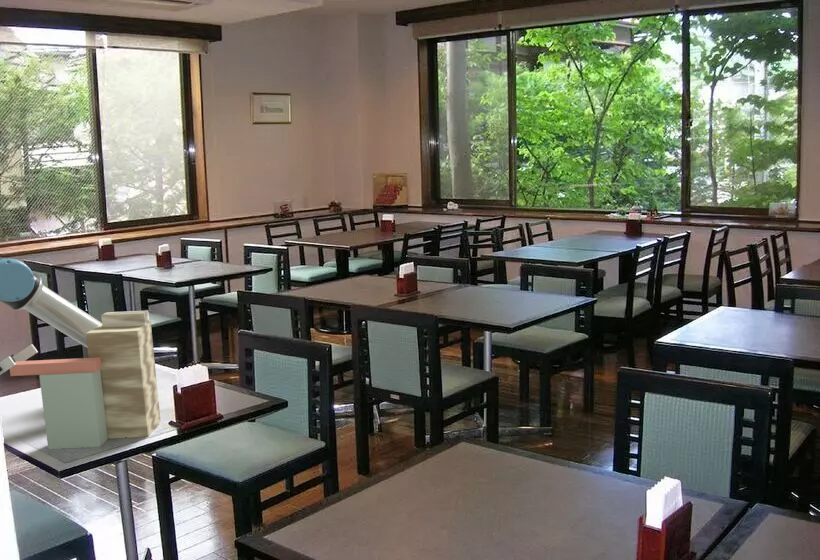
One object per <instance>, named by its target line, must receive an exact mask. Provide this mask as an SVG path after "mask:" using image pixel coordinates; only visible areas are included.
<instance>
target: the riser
mask: <svg viewBox="0 0 820 560" xmlns="http://www.w3.org/2000/svg"><path fill="white" fill-rule="evenodd" d="M38 376H39V384H40V391H41V392H40V393H41V399H42V400H41V401H42V409H43V416H44V417H43V418H44V423H45V424H44V426H45V432H46V434H45V435H46V442H47V443H46V444H47V449H48V450H62V449H61V448H65V449H81V448H82V447H83V448H85V449H86V448H100V447H101V446H103V445H104V444H105V443H106V442H107V441H108V440H109V439H108V435H107V426H106V417H105V408H104V399H103V390H102V381H101V372H100V370H98V371H97V372H86V373H65V374H44V375H38ZM107 439H108V440H107ZM106 440H107V441H106ZM105 441H106V442H105ZM104 442H105V443H104Z"/></svg>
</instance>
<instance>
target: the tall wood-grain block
mask: <svg viewBox="0 0 820 560" xmlns="http://www.w3.org/2000/svg"><path fill="white" fill-rule="evenodd" d="M100 316H101V317H100V318H101V323H102V324H101V325H99V326H98V327H96V328H94V329H93V330H91V331H89V332H87V333H86V339H87V348H88V357H89V358H98V357H101V366H102V368H101V369H100V372H101V381H102V390H103V399H104V408H105V417H106V426H107V435H108V438H110V439H125V437H127V439H128V438H129V439H130V438H148V437H149V436H150V435H151V434H152V433H153V432H154V431H155V430H156V429H157V427H158V426H159V425H160V424H161V423H162V421H161V410H160V401H159V392H158V383H157V380H158V379H157V374H156V373H157V372H156V362H155V353H154V352H155V351H154V342H153V341H154V340H153V333H152V323H151V322H152V321H150V313H149V310H148V309H145V310H130V311H129V310H128V311H112V312H111V311H109V312H104V313H102V314H101V315H100ZM160 422H161V423H160ZM159 423H160V424H159ZM158 424H159V425H158ZM157 425H158V426H157ZM154 429H155V430H154ZM153 430H154V431H153Z"/></svg>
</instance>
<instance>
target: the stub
mask: <svg viewBox="0 0 820 560" xmlns="http://www.w3.org/2000/svg"><path fill="white" fill-rule="evenodd" d="M15 364H16V365H14V366H13V367H11V368H10V371H9V373H10V377H18V376H19V377H20V376H23V377H24V376H40V375H44V374H65V373H86V372H97V371H98V370H100V369H101V368H102V366H101V357H98V358H84V357H80V358H61V359H59V358H58V359H57V358H56V359H42V360H41V359H40V360H25V361H16V362H15Z"/></svg>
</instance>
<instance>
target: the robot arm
mask: <svg viewBox="0 0 820 560" xmlns="http://www.w3.org/2000/svg"><path fill="white" fill-rule="evenodd" d="M0 302H1V303H3V304H5V305H6V306H8V307H9V308H11V309H13V310H15V311H20V310H25V311H27V312H29V313H30V314H31V315H33V316H35V317H36V318H37V319H40V320H42V321H43V322H44V323H46V324H48V325H50V326H51V327H53V328H54V329H56V330H58V331H59V332H60V333H63V334H64V335H65V336H68V337H70V338H71V339H72V340H73V341H75V342H78V344H80V345H81V347H82V353H83V358H89V357H88V348H87V339H86V333H87V332H89V331H91V330H93V329H94V328H96V327H98V326H99V325H101V324H102V321H100V320H98V319H97V318H95V317H93V316H92V315H90V314H89V313H87V312H86V311H84V310H82V309H81V308H79V307H78V306H76V305H75V304H73V303H71V302H70V301H69V300H67V299H66V298H64V297H62V296H61V295H60V294H58V293H57V292H55V291H53V290H52V289H50V288H48V287H47V286H45V285H44V284H43V281H42V277H41V276H40V275H38V274H37V273H35V272H33V271H32V270H31V268H30V266H28V265H27V264H26V263H25V262H23V261H21V260H18V259H16V258H12V257H1V256H0ZM38 353H39V351H38V350H37V348H36V346H34V344H33V343H32V344H30V345H28V346H27V347H26V348H25V347H24V348H23V349H22V350H21V351H19V352H18V353H16V354H11V355H10V356H8V357H6V358H5V359H3V360H1V361H0V377H2V376H3V375H5V374H7V373H8V372H10V368H11V367H13V366H14V365H16V364H15V362H16V361H28V359H30V358H31V357H33V356H35V355H36V354H38Z"/></svg>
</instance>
